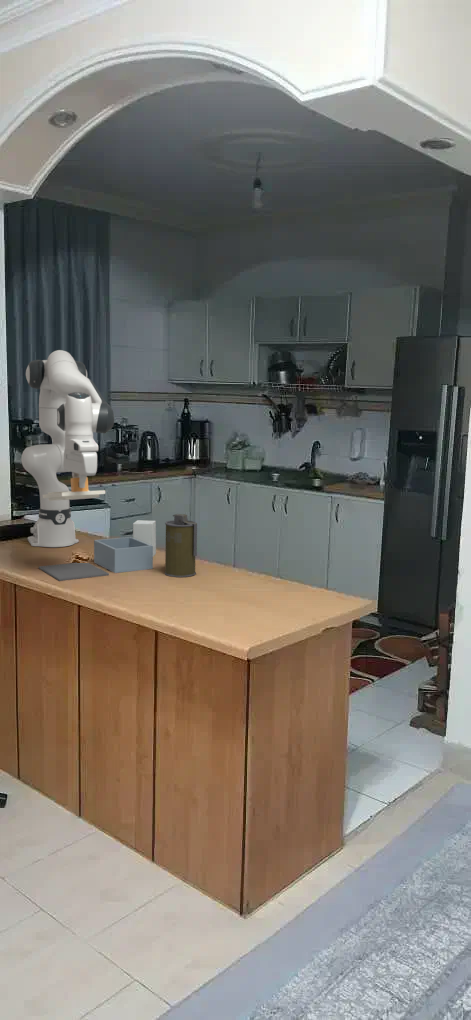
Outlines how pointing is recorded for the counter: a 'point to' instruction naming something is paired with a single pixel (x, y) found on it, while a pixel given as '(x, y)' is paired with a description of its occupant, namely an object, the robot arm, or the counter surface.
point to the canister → (180, 547)
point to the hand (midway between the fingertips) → (79, 487)
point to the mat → (73, 571)
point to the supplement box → (145, 532)
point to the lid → (74, 492)
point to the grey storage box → (123, 554)
